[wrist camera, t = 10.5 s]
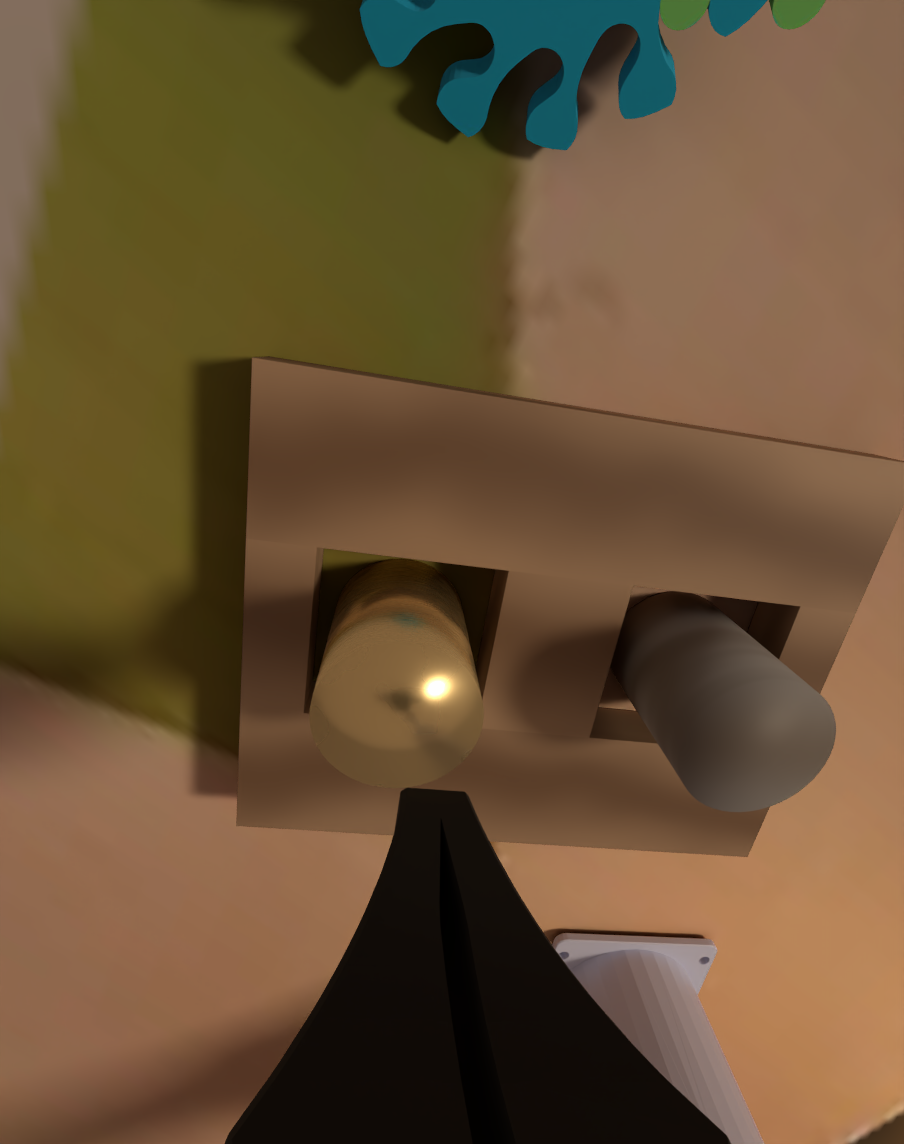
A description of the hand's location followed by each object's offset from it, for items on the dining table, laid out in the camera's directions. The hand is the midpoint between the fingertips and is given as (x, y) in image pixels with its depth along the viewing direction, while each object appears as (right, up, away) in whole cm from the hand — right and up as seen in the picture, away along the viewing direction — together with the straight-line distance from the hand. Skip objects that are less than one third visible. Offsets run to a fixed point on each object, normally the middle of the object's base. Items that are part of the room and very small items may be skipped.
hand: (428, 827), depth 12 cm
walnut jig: (+4, +3, +9) cm, 10 cm away
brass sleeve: (-1, +4, +9) cm, 9 cm away
